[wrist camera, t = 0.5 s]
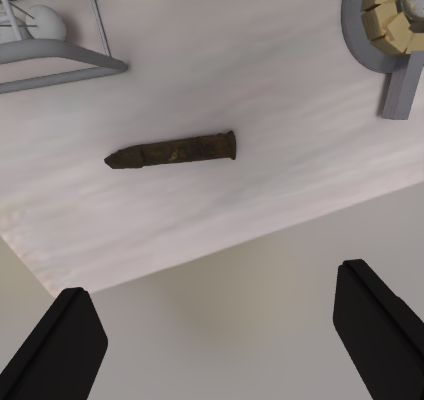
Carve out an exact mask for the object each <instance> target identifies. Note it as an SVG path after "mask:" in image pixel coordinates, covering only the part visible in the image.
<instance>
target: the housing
mask: <svg viewBox="0 0 424 400" xmlns="http://www.w3.org/2000/svg"><path fill="white" fill-rule="evenodd" d="M394 1H395V5H396V9H397V13H400V12H403V14H404V15H405V17H406V19H407V20H408V22H409V24H410V27H409V28H408V29H409V30H410V31H412V32H413V33H424V0H394ZM361 6H362V0H342V7H341V24H342V31H343V35H344V39H345V42H346V44H347V47H348V49H349V50H350V52H351V54H352V55H353V56H354V57H355V59H356V60H357V61H358V62H359V63H361V64H362V65H363V66H365V67H366V68H368V69H370V70H373V71H376V72H380V73H393V69H394V65H395V61H396V57H390V55H389V56H386V55H385V54H383V53H382V52H381V51H379V50H378V49H377V48H375V47H374V46H373V45H372V44H370V42H371V40H372V39H370V40H368V39H367V36H366V33H365V29H364V26H363V22H362V19H361V15H362V14H364V13H365V12H367V11H365V12H360V11H361ZM423 66H424V65H423Z"/></svg>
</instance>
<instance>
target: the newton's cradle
mask: <svg viewBox="0 0 424 400" xmlns="http://www.w3.org/2000/svg"><path fill="white" fill-rule="evenodd" d="M9 1H11V0H0V3H1V2H2V3H3V6H4V8H5V11H6V13H5V12H0V64H5V63H10V62H16V61H22V60H27V59H34V58H44V57H61V58H66V59H71V60H75V61H79V62H84V63H88V64H92V65H97V66H100V67H95V68H89V69H83V70H77V71H72V72H66V73H60V74H54V75H49V76H43V77H37V78H31V79H26V80H20V81H14V82H8V83H3V84H0V94H2V93H8V92H13V91H19V90H25V89H31V88H37V87H43V86H48V85H54V84H60V83H66V82H72V81H78V80H83V79H89V78H95V77H101V76H107V75H113V74H118V73H122V72H124V71H125V70H126V64H125V63H124V62H123V61H120V60H117V59H114V58H111V57H110V54H109V50H108V47H107V43H106V39H105V36H104V32H103V29H102V25H101V21H100V18H99V14H98V10H97V7H96V3H95V0H91V1H92V5H93V9H94V12H95V16H96V19H97V23H98V26H99V30H100V34H101V37H102V41H103V44H104V48H105V51H106V55H107V56H106V55H103V54H100V53H97V52H94V51H91V50H88V49H85V48H83V47H80V46H77V45H74V44H71V43H68V42H65V41H64V40H65V37H66V27H65V24H64V21H63V20H62V18H61V17H60V16H59V14H58V13H57V12H55V11H54V10H53V9H51V8H49V7H47V6H44V5H35V6H32V7H31V8H30V9H29V10H28V11H27V13H26V12H25V11H23V10H22V9H20V8H19V7H17V6H15V5H14V4H12V3H11V2H9ZM10 4H11V5H12V6H14V7H15V8H17V9H19V10H20V11H22V12H23V13H25V14H26V18H25V21H26V25H25V24H24V23H23V22H22V21H21V20H20V19H19V18H17V17H16V16H15V15H14V13H13V10H12V8H11V5H10ZM30 34H31V35H32V36H33V37H34V38H35V39H31V35H30Z"/></svg>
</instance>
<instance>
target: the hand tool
mask: <svg viewBox="0 0 424 400" xmlns="http://www.w3.org/2000/svg"><path fill="white" fill-rule="evenodd" d="M218 158H231V159H233V160H235V159H236V139H235V136H234V133H233V131H230V132H228V133H227V134H221V133H220V134H218V135H217V136H203V137H196V138H190V139H184V140H177V141H170V142H162V143H155V144H147V145H144V144H143V145H137V146H132V147H128V148H126V149H123V150H118V152H116V153H114V154H111V155H110V156H108V157H107V158H105V159H104V161H105V163H106V164H107V165H109V166H110V167H111V168H112V169H125V168H142V167H143V166H151V165H159V164H170V163H182V162H192V161H202V160H211V159H218Z"/></svg>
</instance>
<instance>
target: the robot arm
mask: <svg viewBox="0 0 424 400" xmlns="http://www.w3.org/2000/svg"><path fill="white" fill-rule="evenodd" d="M333 323H334V326H335V329H336V331H337V332H338V335H339V336H340V338H341V340H342V342H343V344H344V346H345V348H346V350H347V351H348V353H349V355H350V357H351V359H352V361H353V363H354V364H355V367H356V368H357V370H358V372H359V374H360V376H361V378H362V380H363V381H364V383H365V385H366V387H367V389H368V391H369V393H370V395H371V397H372V399H373V400H424V323H423V321H422V320H421V319H420V318H419V317H418V316H417V315H416V314H415V313H414V312H413V311H412V310H411V308H409V306H408V305H407V304H406V303H405V302H404V301H403V300H402V299H400V297H398V296H396V295H395V294H394V293H393V292H392V291H391V290H390V289H389V288H388V286H387V285H386V284H385V283H384V282H383V281H382V280H381V279H380V278H379V277H378V275H377V274H376V273H375V272H374V271H373V270H372V269H371V268H370V267H369V266H368V264H367V263H366V262H365V261H364V260H362V259H355V260H345V261H344V262H343V264H342V265H340V266H339V267H338V274H337V284H336V293H335V303H334V312H333ZM107 347H108V339H107V336H106V334H105V332H104V329H103V326H102V324H101V322H100V319H99V317H98V315H97V312H96V310H95V307H94V305H93V303H92V300H91V298H90V295H89V293H88V292H87V291H84V289H83V288H82V287H76V288H66V289H64V290H63V291H62V292H61V293H60V294H59V296H58V297H57V298H56V300H55V301H54V302H53V304H52V305H51V306H50V308H49V309H48V311H47V312H46V313H45V315H44V316H43V317H42V319H41V320H40V321H39V323H38V324H37V325H36V327H35V328H34V329H33V331H32V332H31V334H30V335H29V336H28V338H27V339H26V340H25V342H24V343H23V344H22V346H21V347H20V348H19V350H18V351H17V353H16V354H15V355H14V357H13V358H12V359H11V361H10V362H9V363H8V365H7V366H6V367H5V369H4V370H3V371H2V373H1V374H0V400H87V398H88V395H89V393H90V390H91V388H92V385H93V383H94V380H95V378H96V375H97V373H98V370H99V368H100V365H101V363H102V360H103V358H104V355H105V353H106V350H107Z"/></svg>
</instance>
